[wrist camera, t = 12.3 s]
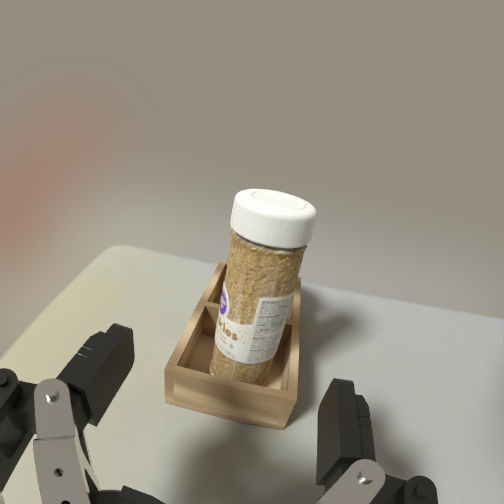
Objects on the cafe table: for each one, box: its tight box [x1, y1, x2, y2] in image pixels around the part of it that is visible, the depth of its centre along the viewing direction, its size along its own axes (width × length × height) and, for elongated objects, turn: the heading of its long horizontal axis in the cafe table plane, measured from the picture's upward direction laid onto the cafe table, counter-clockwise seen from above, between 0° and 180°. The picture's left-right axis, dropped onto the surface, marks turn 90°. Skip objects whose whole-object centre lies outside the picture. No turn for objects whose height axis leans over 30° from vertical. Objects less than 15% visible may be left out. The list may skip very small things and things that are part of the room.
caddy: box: [165, 260, 301, 430], centre depth 26 cm, size 16×8×4 cm, turn 172°
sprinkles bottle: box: [209, 189, 317, 387], centre depth 20 cm, size 5×5×14 cm
